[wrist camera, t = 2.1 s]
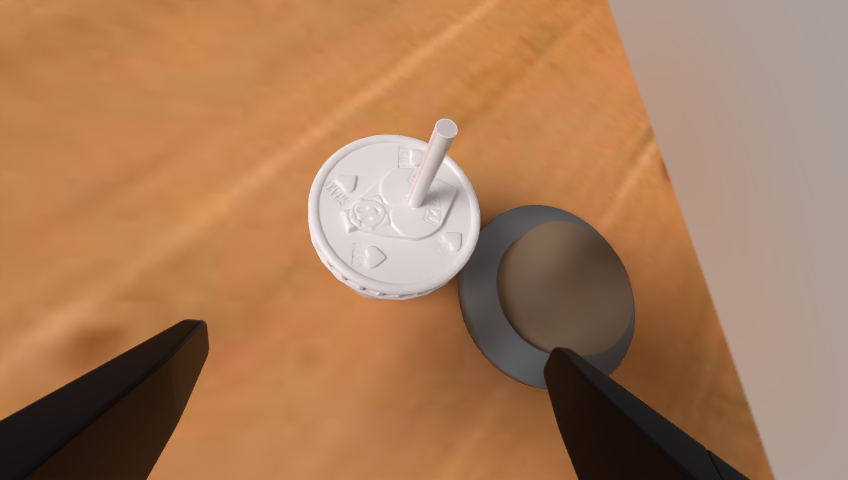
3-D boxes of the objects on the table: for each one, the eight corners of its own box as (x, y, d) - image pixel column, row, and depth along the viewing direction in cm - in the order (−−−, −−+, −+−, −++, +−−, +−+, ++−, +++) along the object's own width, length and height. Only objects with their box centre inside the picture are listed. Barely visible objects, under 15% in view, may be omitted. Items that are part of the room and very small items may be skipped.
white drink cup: (441, 300, 21) (590, 215, 8) (342, 339, 19) (335, 306, 6) (405, 212, 23) (484, 20, 10) (309, 239, 21) (249, 43, 8)
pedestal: (648, 323, 24) (695, 318, 21) (530, 431, 20) (566, 446, 16) (550, 188, 26) (579, 165, 23) (424, 261, 22) (437, 245, 18)
